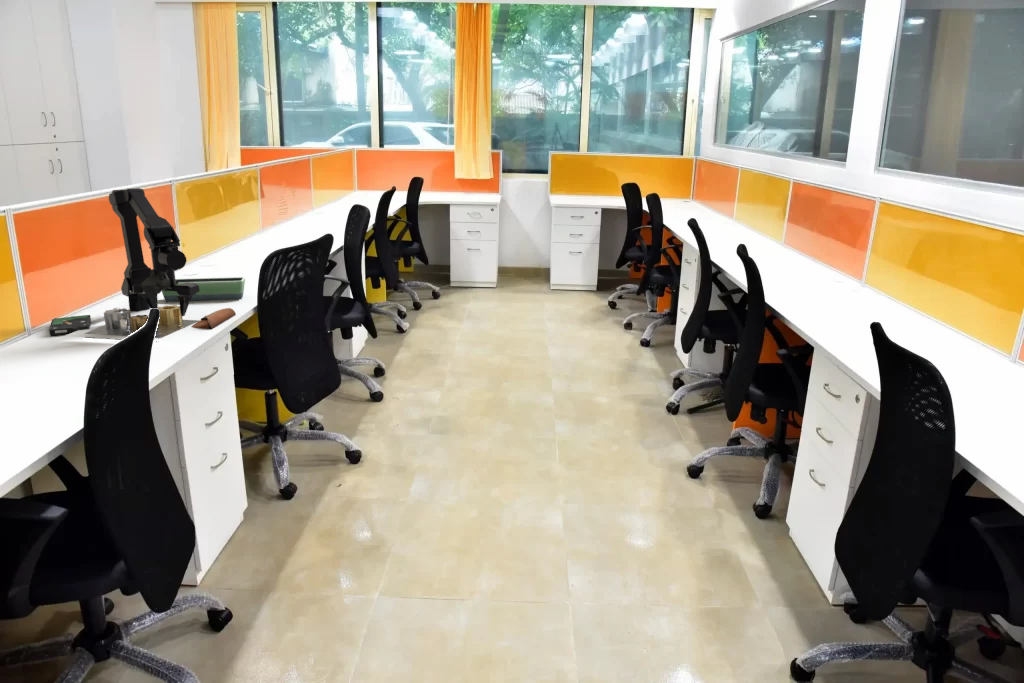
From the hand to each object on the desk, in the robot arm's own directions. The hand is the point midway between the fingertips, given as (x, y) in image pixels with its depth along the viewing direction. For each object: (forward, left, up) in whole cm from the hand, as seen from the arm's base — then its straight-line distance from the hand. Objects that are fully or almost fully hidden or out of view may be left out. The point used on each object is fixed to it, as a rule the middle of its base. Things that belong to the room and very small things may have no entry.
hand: (169, 315), depth 222 cm
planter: (-34, -9, -4) cm, 36 cm away
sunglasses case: (-3, +12, -4) cm, 13 cm away
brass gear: (0, 0, -2) cm, 2 cm away
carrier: (+7, -4, -3) cm, 9 cm away
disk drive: (+9, -26, -4) cm, 28 cm away
